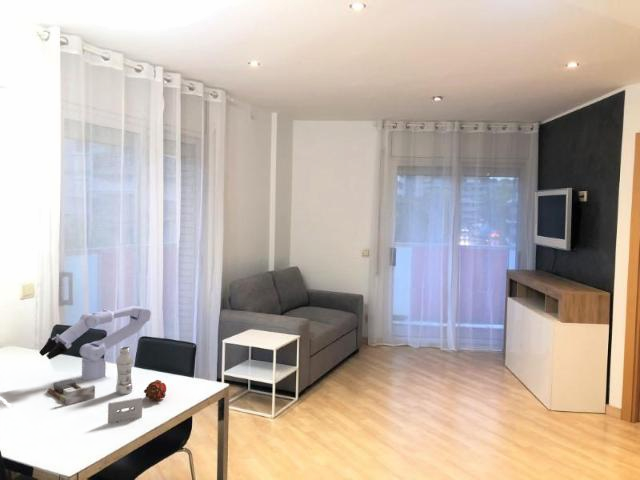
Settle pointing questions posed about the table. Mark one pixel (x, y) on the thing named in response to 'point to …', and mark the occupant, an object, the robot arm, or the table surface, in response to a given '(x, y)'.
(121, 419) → the cassette
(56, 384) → the grey rectangular block
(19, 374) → the table surface
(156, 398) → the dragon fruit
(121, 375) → the plastic bottle
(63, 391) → the cream square block
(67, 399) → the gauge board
